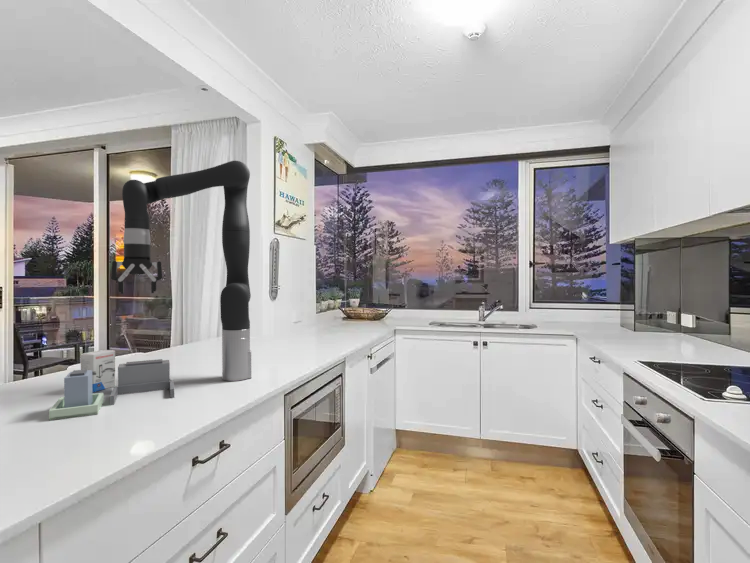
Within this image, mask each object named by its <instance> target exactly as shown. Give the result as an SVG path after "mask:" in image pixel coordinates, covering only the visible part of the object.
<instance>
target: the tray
mask: <svg viewBox="0 0 750 563" xmlns="http://www.w3.org/2000/svg"><path fill="white" fill-rule="evenodd" d="M92 396H93V403H92V404H91V405H85V406H77V407H68V408H64V396H61V397H59V398H58V400H56V401H55V403H54V404H53V406H52V407H50V409H49V410H48V420H49V421H55V420H62V419H63V420H64V419H72V418H79V417H87V416H95V415H98V414H99V412H100V410H101V409H102V408H101V407H102V406H103V403H104V401H105V400H104V399H105V398H104V396H105V395H104V392H98V393H97V392H95V393H92Z"/></svg>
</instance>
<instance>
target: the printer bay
mask: <svg viewBox="0 0 750 563" xmlns="http://www.w3.org/2000/svg"><path fill="white" fill-rule="evenodd" d="M170 365H171V364H170V359H164V360H163V359H162V358H160V359H148V360H135V361H126V363H119V365H118V366H117V386H113V387H112V390H111V393H110V396H109V405H110V406H114V405H115V403H116V400H117V398H118V397H119V395H128V394H135V393H145V392H146V393H147V392H154V391H155V392H156V391H164V390H169V395H170V399H173V398H175V385H174V383H175V382H174V380H170V379H171V378H170V377H171V375H170V374H171V373H170V372H171V371H170V369H171V368H170Z"/></svg>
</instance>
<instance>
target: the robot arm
mask: <svg viewBox="0 0 750 563" xmlns="http://www.w3.org/2000/svg"><path fill="white" fill-rule="evenodd" d="M250 176H251V172H250V169H249V167H248V165H246V163H244V162H242V161H241V160H230V161H227V162H225V163H221V164H219V165H216V166H212V167H209V168H205V169H202V170H196V171H192V172H185V173H179V174H172V175H167V176H162V177H161V176H160V177H158V178H155V180H153V181H148V182H142V181H140V180H138V179H129V180H127V181H126V182H125V183H124V184H123V186H122V192H121V193H122V194H121V195H122V196H121V197H122V202H123V210H124V232H123V261H116V260H113V261H112V262H111V276H110V279H111V280H112V281H116V282H117V284H118V285H117V286H118V288H117V291H118V293H120V294H121V295H122V294H123V295H124V294H125V290H124V289H125V282H124V280H125V279H126V278H127V277H128V275H132V276H133V275H141V276H142V275H147V277H148V278H149V279H150V280H151V283H150V284H151V289H150V291H151V294H154V293H155V292H156V291H157V282H158V281H160V280H162V279H163V270H162V262H161V261H156V262H155V261H154V262H153V261H152V260H151V256H152V255H151V251H152V250H151V234H150V231H151V230H150V214H149V213H148V204H152V203H156V202H159V201H162V200H165V199H171V198H172V199H173V198H174V199H175V198H179V197H183V196H189V195H191V194H194V193H197V192H200V191H203V190H206V189H210V188H217V187H223V193H224V194H223V196H224V209H223V210H224V211H223V215H222V226H221V228H222V230H221V242H222V244H221V245H222V252H223V257H224V261H225V267H226V280H225V281H226V282H225V286H224V288H222V290H221V292H220V297H219V298H220V299H219V300H220V303H219V304H220V305H219V306H220V322H221V337H222V338H221V341H222V342H221V349H222V350H221V358H222V359H221V363H222V364H221V366H222V367H221V368H222V371H221V373H222V374H221V375H222V376H221V378H222V380H223V381H226V382H227V381H229V382H233V381H234V382H236V381H243V380H247V379H252V350H251V325H250V324H251V321H250V313H249V312H250V307H249V306H250V304H249V302H250V301H251V297H252V296H251V288H250V280H249V260H250V249H251V248H250V244H251V243H250V242H251V241H250V239H251V238H250V237H251V231H250V220H249V215H248V208H247V197H248V196H247V195H248V186H249V182H250V179H251V178H250ZM121 266H122V267H123V268H124V269H125V271H124V272H122V274H121V275H120V276H119V277H118V276H117V273H118V269H119V268H120V267H121ZM152 266H154V268H155V269H156V270H157V276H154V275H153V274H152V273H151V272H150V269H151V267H152Z"/></svg>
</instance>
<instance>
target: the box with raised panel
mask: <svg viewBox="0 0 750 563" xmlns="http://www.w3.org/2000/svg"><path fill="white" fill-rule="evenodd" d="M63 379H64V380H63V385H64V386H63V387H64V388H63V389H64V392H63V394H64V395H63V397H64V408H68V407H77V406H85V405H91V404H92V403H93V396H92V394H93V392H92V370H87V369H85V370H81V369H76V370H75V369H74V370H73V371H70V372H68V373H67V375H66V376H65V377H63Z"/></svg>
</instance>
